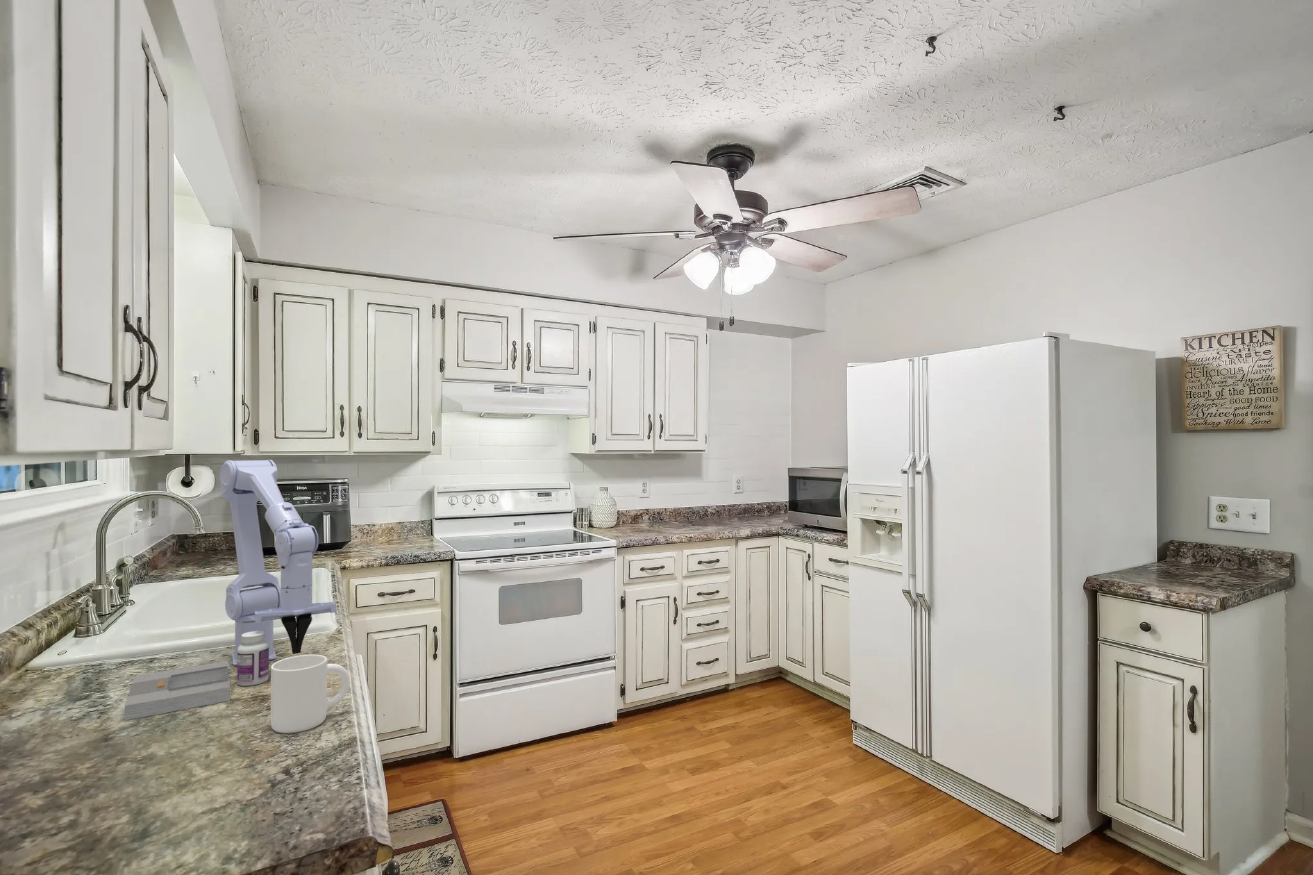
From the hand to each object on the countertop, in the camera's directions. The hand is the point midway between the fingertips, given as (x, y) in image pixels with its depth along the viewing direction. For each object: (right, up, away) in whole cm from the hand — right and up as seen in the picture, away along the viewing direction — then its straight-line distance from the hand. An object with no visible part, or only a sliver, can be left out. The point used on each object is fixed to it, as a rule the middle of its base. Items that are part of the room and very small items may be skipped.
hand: (296, 652), depth 132 cm
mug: (+15, -4, -23) cm, 28 cm away
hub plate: (-16, -4, -11) cm, 20 cm away
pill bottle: (-6, -5, -4) cm, 9 cm away
